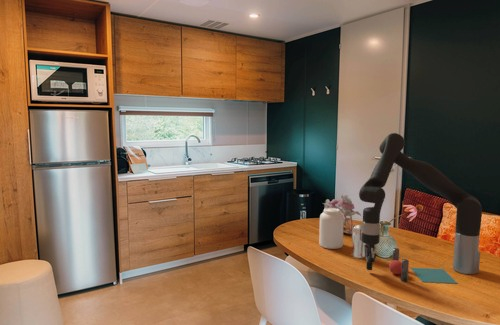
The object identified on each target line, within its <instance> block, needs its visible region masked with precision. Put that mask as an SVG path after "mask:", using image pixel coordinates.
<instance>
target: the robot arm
mask: <svg viewBox="0 0 500 325" xmlns="http://www.w3.org/2000/svg"><path fill="white" fill-rule="evenodd" d="M405 146H406V141H405V139H404V137H403V136H402V135H401V134H399V133H396V132H391V133H389V134H387V136H386V137H385V138H384V139H383V141H382V142H381V144H380V145H379V152H380V153H381V156H380V158H379V159H378V161H377V163H376V165H375V166H374V168H373V170H372V172H371V175H370V177H369V178H368V179H367V181H366V182H365V183H364V184H363V185H362V186H361V187H360V189H359V192H358V197H359V200H360V201H362V202H365V203H370V204H374V205H373V206H368V207H364V209H362V224H361V225H362V237H361V241H362V242H363V243H365V245H364V248H365V250H364V252H365V260H366V270H367V271H373V263H375V261H376V258H377V254H376V251H377V250H376V247H375V246H376V245H379V244H380V240H381V239H380V236H381V235H380V234H381V224H380V221H381V220H380V219H381V211H382V207H383V204H384V202H385V199H386V192H385V190H384V188H383V187H385V186H386V184H387V182H388V179H389V177H390V174H391V171H392V168H393V166H394V164H395V165H397V166H398V167H400V168H401V169H403V171H405V172H407V173H408V174H410V175H411V176H412V177H413V178H414V179H416V180H417V181H418V182H419V183H420V184H422V186H424V187H426V188H427V189H429V190H430V191H432V192H433V193H436V194H438V195H439V196H441V197H443V198H444V199H445V200H447V201H448V202H449V203H451V204H452V206H453V207H455V208H456V217H455V218H456V219H455V228H454V230H455V231H454V246H453V260H452V269H453V270H454V271H456V272H458V273H460V274H464V275H476V274H479V272H480V261H481V260H480V259H481V251H479V248H480V247H479V246H480V236H481V235H480V234H481V228H482V214H483V208H482V204H481V203H480V201H479V200H478V199H477V198H476V197H474V196H473V195H471V194H470V193H468V192H466V191H465V190H463V189H461V188H460V187H458V186H457V185H456V184H455V183H454V182H453V181H452V180H450V178H449V177H447V176H446V175H445V174H444V173H443V172H441V171H440V170H439V169H437V168H436V167H435V166H434V165H432V164H431V163H429V162H426V161H423V160H418V159H414V158H412V157H409V156H408V155H406V154H405V153H403V152H402V150H403V149H404V148H405Z"/></svg>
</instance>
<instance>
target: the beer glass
mask: <svg viewBox="0 0 500 325" xmlns="http://www.w3.org/2000/svg"><path fill="white" fill-rule="evenodd" d="M361 237H362V224H355V225H353V227H352V234H351V241H352V246H353V249H352V254H351V256H352V257H353V258H355V259H364V258H365V259H366V257H365V248H364V245H366V244H365V243H363V242H362V241H361Z"/></svg>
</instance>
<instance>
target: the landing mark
mask: <svg viewBox="0 0 500 325" xmlns="http://www.w3.org/2000/svg"><path fill="white" fill-rule="evenodd" d="M410 269H411V270H412V272H413V273H414V274H415V275H416V277H418V279H419V280H420V281H421V283H433V284H435V283H436V284H437V283H438V284H454V285H455V284H458V282H457V281H456V280H455V279H454V278H453V277H452V276H451V275H450V274H449V273H448V272H447V271H446V270H445V269H444V268H432V267H431V268H430V267H429V268H427V267H426V268H425V267H410Z"/></svg>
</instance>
